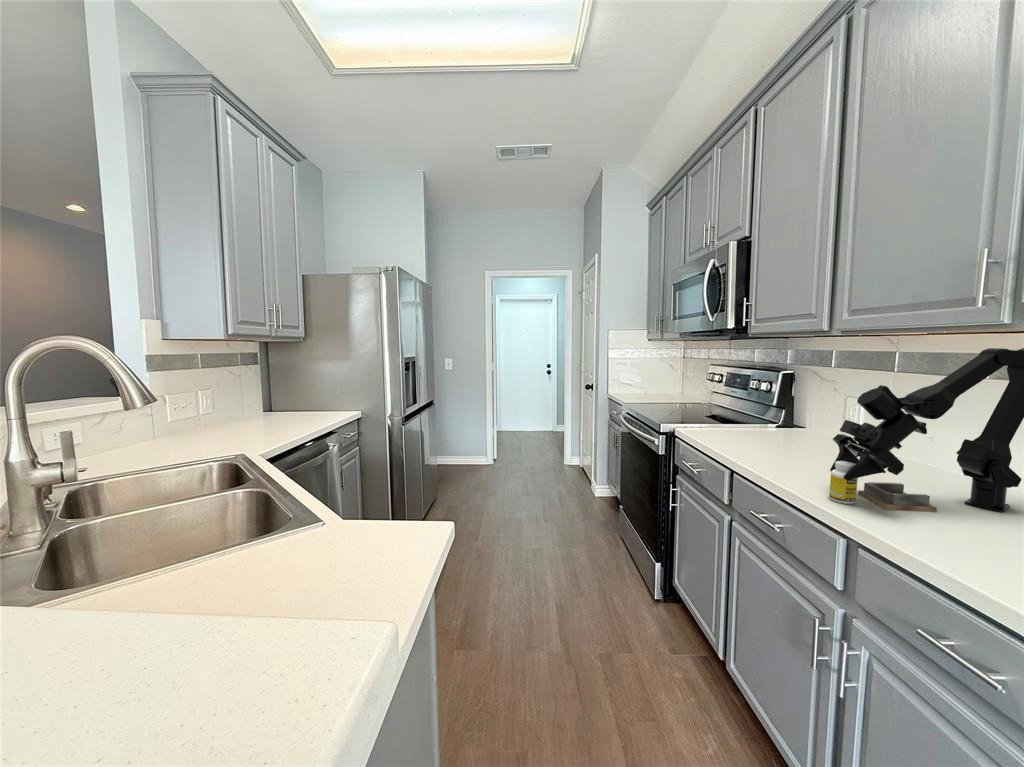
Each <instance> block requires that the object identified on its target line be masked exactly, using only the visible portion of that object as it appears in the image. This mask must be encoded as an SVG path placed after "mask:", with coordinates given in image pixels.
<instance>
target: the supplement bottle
mask: <svg viewBox="0 0 1024 767" xmlns="http://www.w3.org/2000/svg"><path fill="white" fill-rule="evenodd" d="M834 462H835V461H834ZM854 465H855V464H854V463H851V462H846V461H836V462H835V468H836V469H834V470H832V471H830V481H829V482H830V483H829V494H828V495H829V496H828V497H829V500H831V501H833V502H835V503H839V504H843V505H844V504H845V505H853V504H856V501H857V493H858V489H857V488H858V479H859V478H855V479H851V480H845V479H844V478H843V477H844V475H845V474H846V473H847V472H848V471H849V470H850V469H851V468H852V467H853V466H854Z"/></svg>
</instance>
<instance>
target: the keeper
mask: <svg viewBox="0 0 1024 767" xmlns="http://www.w3.org/2000/svg"><path fill="white" fill-rule="evenodd" d="M863 484H864V485H863V490H859V489H857V495H859V496H860V497H862V498H864V499H866V500H868V501H870V502H871V503H873V504H875V505H876V506H878V507H880V508H883V509H884V510H885V511H902V512H903V511H905V512H906V511H908V512H933V513H934V512H935V513H936V512H937V511H938V510H937V508H938V507H936V506H935V505H932V504H930V499H931V498H930V495H927V494H923V493H922V494H919V493H907V492H904V491H905V490H904V488H905V484H903V483H901V482H875V481H872V482H871V481H870V482H869V481H868V482H864V483H863Z"/></svg>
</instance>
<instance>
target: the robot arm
mask: <svg viewBox="0 0 1024 767" xmlns="http://www.w3.org/2000/svg"><path fill="white" fill-rule="evenodd" d="M1006 366H1007V368H1006V371H1007V376H1008V383H1007V386H1005V389H1004V391H1003V393H1002V395H1001V396H1000V398H999V400H998V402H997V403H996V406H995V407H994V410H993V411H992V413H991V415H990V416H989V419H988V420H987V422H986V425H984V428H983V430H982V432H981V433H980V435H979V436H978V437H976V438H974V439H973V440H971V439H966V438H965V439H964V440H963V441H962V443H961V446H960V448H959V450H958V451H957V452H955V453H956V455H957V458H956V463H957V464H958V466H959V467H960V468H961V471H962V474H963V475H964V476H965V477H969V478H971V479H972V480H971V488H970V489H971V490H970V498H968V499H967V500H965V501H964V504H965V505H967V506H973V507H976V508H982V509H987V510H991V511H995V512H1001V513H1005V512H1006V511H1007V510H1008V509H1009V508H1010V507H1011V504H1009V503H1006V500H1007V489H1008V488H1009V489H1011V488H1018V487H1019V485H1020V483H1021V481H1022V478H1021V477H1020V475H1018V474H1017V473H1016V472H1015V471H1014V470H1013V469H1012V468H1011V467H1010V465H1011V463H1012V462H1011V461H1012V459H1013V457H1012V452H1011V448H1010V444H1011V442H1012V441H1013V438H1014V437H1015V435H1016V433H1017V431H1018V429H1019V427H1020V425H1021V424H1022V422H1023V420H1024V347H1022V348H1019V349H1016V350H1015V349H1008V348H1002V347H1001V348H996V347H995V348H994V347H993V348H990V347H989V348H986V349H983V350H981V351H980V352H979V354H978V355H977V356H975V357H973V358H972V359H971V360H969V361H967V362H966V363H965V364H963V365H962V366H960V367H959V368H957V369H956V370H954V371H953V372H951V373H950V374H948V375H947V376H945V377H944V378H942V379H941V380H940V381H938V382H936V383H934V384H932V385H928V386H925V387H924V386H923V387H921V388H919V389H916V390H915V391H912V392H911V393H908V394H906V395H905V396H903V397H897V396H896V395H895V394H894V393H893V392H892V391H891V389H890V388H889V387H888V386H887V385H881V384H880V385H879V386H877V387H875V388H872V389H869V390H867V391H866V392H863V393H862V394H861V395H859V397H858V398H857V404H858V405H860V406H861V407H862V408H863V409H864V410H865V411H866V412H867V413H868V414H869V415H870V416H871V417H872V418H874V420H878V421H880V420H882V422H879V424H877V425H876V426H875V425H873V424H871V423H868V422H863V423H862V424H861V423H857V422H855V421H851V420H848V419H845V420H844V421H843V423H842V425H841V427H840V429H839V431H840V432H841V433H838V434H836V435H835V436H834V437H833V438H832V441H834V442H835V443H836V445H837V446H838V449H839V450H838V455H837V456H836V459H835V460H834V461H833V464H832V466H831V467H830V469H829V471H830V472H831V471H832V470H834V469H836V468H835V462H836V461H846V462H851V463H854V464H855V465H854V466H853V467H852V468H851V469H850V470H849V471H848V472H847V473H846V474H845V475H844V477H843V478H844V479H845V480H851V479H855V478H858V479H859V478H863V477H868V476H871V475H872V476H873V475H876V474H881V473H882V474H886V473H887V472H888V473H890V474H893V475H896V476H899V474H901V473H902V472H903V471H904V469H905V464H904V463H903V462H902V461H901V460H900V459H899V458H898V456H896V455H895V454H894V453H893V452H892V450H893V449H897V450H900V449H901V448H902V447H903V445H902V444H900V443H902V441H904V440H905V439H906V438H908V437H909V436H910V435H911V434H913V433H914V432H915V433H919V434H922V435H927V434H928V428H927V422H924V421H921V420H918V419H917V418H915V417H919V418H923V419H926V420H937V419H940V418H941V417H942V416H944V415H945V414H946V413H947V412H948V411H949V410H950V409H952V408H953V406H954V404H955V401H956V400H957V399H958V398H959V397H960V396H961V395H962V394H965V393H966V392H967V391H968V390H971V389H972V388H973V387H975V386H976V385H978V384H979V383H981V382H982V381H984V380H985V379H987V378H988V377H990V376H992V375H993V374H994V373H996V372H997V371H998V370H1001V369H1002V368H1003V367H1006ZM842 433H843V434H842ZM844 433H846V434H848V435H846V434H844ZM849 435H850V436H849ZM858 457H859V458H858ZM885 469H886V470H885Z"/></svg>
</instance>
